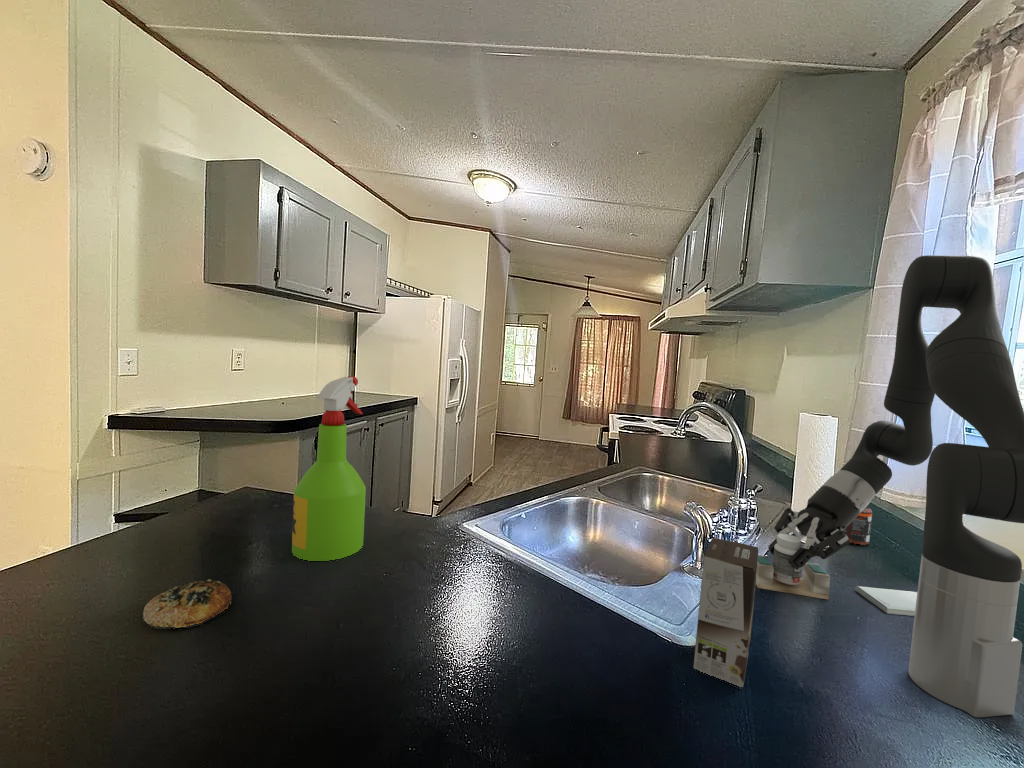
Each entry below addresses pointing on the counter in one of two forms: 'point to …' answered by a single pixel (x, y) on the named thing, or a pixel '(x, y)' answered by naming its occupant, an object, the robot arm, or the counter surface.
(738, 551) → the coffee box
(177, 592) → the bread roll
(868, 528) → the supplement bottle
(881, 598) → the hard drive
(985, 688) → the robot arm
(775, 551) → the pill bottle
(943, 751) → the counter surface
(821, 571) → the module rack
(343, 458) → the spray bottle
